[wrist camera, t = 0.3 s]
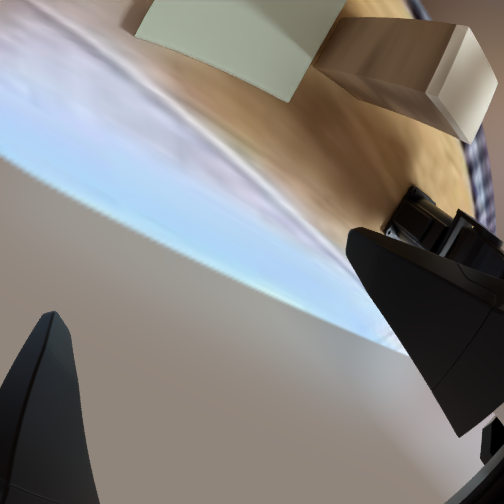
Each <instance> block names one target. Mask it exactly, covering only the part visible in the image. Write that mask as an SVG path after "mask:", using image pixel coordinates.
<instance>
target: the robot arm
mask: <svg viewBox="0 0 504 504" xmlns="http://www.w3.org/2000/svg"><path fill="white" fill-rule="evenodd" d="M456 213H457V214H456V216H455V217H454V219H453V218H452V217H451V216H449V215H448V214H447V213H445V212H444V211H442V210H441V209H439V208H438V207H437V206H436V203H435V202H434V201H432V200H431V199H430V198H429V197H428V196H427V195H425V194H424V193H423V192H422V191H421V190H419V189H418V188H417V187H415V186H411V188H410V189H409V191H408V193H407V194H406V196H405V198H404V199H403V201H402V203H401V204H400V206H399V208H398V209H397V211H396V213H395V214H394V216H393V217H392V219H391V221H390V222H389V224H388V225H387V227H386V229H385V230H384V234H385V235H383V234H381V233H378V232H375V231H372V230H369V229H366V228H364V227H357V228H354V229H351V230H350V231H349V233H348V239H347V244H346V256H347V258H348V260H349V262H350V263H351V265H352V267H353V269H354V270H355V272H356V274H357V276H358V277H359V279H360V281H361V283H362V284H363V286H364V288H365V290H366V291H367V293H368V294H369V296H370V298H371V299H372V300H373V302H374V303H375V305H376V306H377V308H378V309H379V311H380V312H381V314H382V315H383V316H384V318H385V319H386V321H387V322H388V324H389V325H390V327H391V328H392V330H393V331H394V333H395V334H396V336H397V337H398V339H399V340H400V342H401V343H402V345H403V346H404V348H405V350H406V351H407V353H408V354H409V356H410V357H411V359H412V360H413V362H414V364H415V365H416V367H417V368H418V370H419V372H420V373H421V375H422V376H423V378H424V380H425V381H426V383H427V385H428V386H429V388H430V390H432V393H433V395H434V396H435V398H436V400H437V402H438V403H439V405H440V407H441V408H442V410H443V412H444V413H445V415H446V417H447V419H448V421H449V422H450V424H451V426H452V428H453V429H454V431H455V433H456V435H457V436H458V437H459V438H460V437H461V436H463V435H464V434H466V433H467V432H468V431H470V430H471V429H472V428H474V427H475V426H476V425H477V424H479V423H480V422H481V421H483V420H484V419H485V418H486V417H487V416H488V415H490V414H491V413H492V412H494V414H495V416H494V417H493V418H492V420H491V421H490V422H489V423H488V424H487V425H486V426H485V427H484V428H483V430H482V444H481V453H480V459H481V461H482V462H483V464H484V465H485V466H484V467H483V468H482V469H481V470H480V471H479V472H478V473H477V474H476V475H475V476H474V477H473V478H472V479H471V480H470V481H469V482H468V483H467V484H466V485H465V486H464V487H463V488H461V489H460V490H459V491H458V492H457V493H456V494H455V495H454V496H453V497H451V498H450V499H449V500H448V501H447V502H446V503H444V504H504V251H503V250H502V249H501V247H502V245H503V241H502V240H500V239H499V238H498V237H497V236H496V235H494V234H493V233H492V232H491V231H490V230H488V229H487V228H486V227H485V226H483V225H482V224H481V223H479V222H478V221H477V220H475V219H474V218H472V217H471V216H469V215H468V214H466V213H465V212H463V211H462V210H460V209H458V210H457V212H456ZM472 226H474V227H473V228H472ZM0 504H100V502H99V499H98V494H97V491H96V487H95V483H94V478H93V474H92V469H91V465H90V460H89V455H88V449H87V444H86V438H85V432H84V425H83V419H82V411H81V402H80V393H79V383H78V377H77V372H76V366H75V361H74V354H73V348H72V340H71V335H70V332H69V330H68V328H67V326H66V325H65V323H64V322H63V320H62V319H61V317H60V315H59V314H58V313H57V312H56V311H51V312H47V313H44V314H43V315H42V316H41V318H40V319H39V321H38V322H37V324H36V326H35V327H34V329H33V331H32V332H31V334H30V335H29V337H28V339H27V340H26V342H25V344H24V345H23V347H22V349H21V351H20V352H19V354H18V356H17V357H16V359H15V361H14V363H13V365H12V366H11V369H10V370H9V372H8V374H7V376H6V378H5V380H4V381H3V384H2V385H1V387H0Z"/></svg>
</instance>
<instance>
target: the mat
mask: <svg viewBox="0 0 504 504" xmlns="http://www.w3.org/2000/svg"><path fill="white" fill-rule="evenodd" d="M346 1H347V0H154V2H153V4H152V5H151V7H150V9H149V10H148V12H147V14H146V16H145V18H144V19H143V21H142V23H141V25H140V27H139V29H138V30H137V32H136V34H135V37H136V38H139V39H142V40H145V41H148V42H151V43H154V44H157V45H160V46H162V47H165V48H168V49H171V50H173V51H176V52H178V53H181V54H184V55H186V56H189V57H191V58H194V59H196V60H198V61H201V62H203V63H206V64H208V65H210V66H212V67H215V68H217V69H219V70H221V71H224V72H226V73H228V74H230V75H232V76H234V77H237V78H239V79H241V80H243V81H245V82H247V83H249V84H251V85H253V86H255V87H257V88H259V89H261V90H263V91H265V92H267V93H269V94H270V95H272V96H274V97H276V98H278V99H280V100H282V101H284V102H287V103H289V101H290V100H291V98H292V96H293V94H294V92H295V90H296V89H297V87H298V85H299V83H300V81H301V79H302V78H303V76H304V74H305V72H306V70H307V69H308V67H309V65H310V63H311V62H312V60H313V58H314V56H315V54H316V53H317V51H318V49H319V47H320V46H321V44H322V42H323V40H324V39H325V37H326V35H327V34H328V32H329V30H330V28H331V27H332V25H333V23H334V21H335V20H336V18H337V16H338V15H339V13H340V11H341V10H342V8H343V6H344V5H345V3H346Z"/></svg>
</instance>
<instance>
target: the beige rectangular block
mask: <svg viewBox="0 0 504 504" xmlns="http://www.w3.org/2000/svg"><path fill="white" fill-rule="evenodd" d="M314 68H316V69H317V70H319V71H320V72H321V73H323V74H324V75H326V76H327V77H329V78H330V79H331V80H333V81H334V82H336V83H337V84H338V85H340V86H341V87H342V88H344V89H345V90H346V91H348V92H349V93H350V94H352V95H353V96H354V97H355V98H357V99H358V100H361V101H365V102H368V103H371V104H374V105H377V106H380V107H383V108H385V109H388V110H391V111H394V112H396V113H399V114H402V115H404V116H407V117H410V118H412V119H415V120H417V121H420V122H422V123H424V124H427V125H429V126H431V127H434V128H436V129H438V130H441V131H443V132H445V133H447V134H449V135H452V136H454V137H456V138H458V139H460V140H462V141H464V142H466V143H468V144H470V145H471V144H472V142H473V140H474V137H475V135H476V133H477V131H478V129H479V127H480V125H481V122H482V120H483V118H484V115H485V113H486V111H487V109H488V106H489V104H490V101H491V99H492V97H493V94H494V92H495V89H496V86H497V84H498V82H497V79H496V77H495V75H494V73H493V71H492V69H491V67H490V65H489V63H488V61H487V59H486V57H485V55H484V53H483V51H482V49H481V47H480V45H479V44H478V42H477V40H476V39H475V36H474V35H473V33H472V32H471V30H470V28H469V27H468V26H462V25H456V24H450V23H443V22H435V21H427V20H416V19H403V18H376V17H359V18H342V19H341V21H340V23H339V25H338V26H337V28H336V30H335V31H334V33H333V35H332V37H331V38H330V40H329V42H328V44H327V45H326V47H325V49H324V51H323V52H322V54H321V56H320V58H319V60H318V61H317V63H316V65H315V67H314Z"/></svg>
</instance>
